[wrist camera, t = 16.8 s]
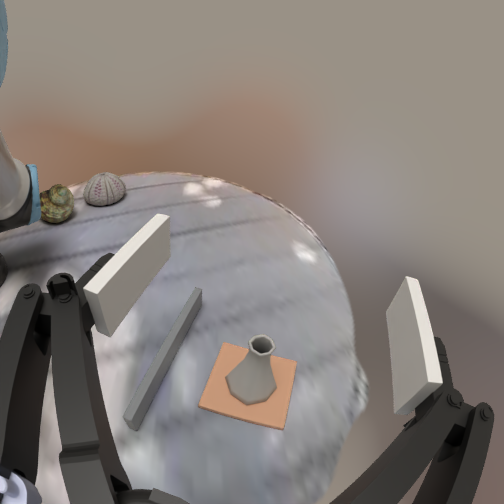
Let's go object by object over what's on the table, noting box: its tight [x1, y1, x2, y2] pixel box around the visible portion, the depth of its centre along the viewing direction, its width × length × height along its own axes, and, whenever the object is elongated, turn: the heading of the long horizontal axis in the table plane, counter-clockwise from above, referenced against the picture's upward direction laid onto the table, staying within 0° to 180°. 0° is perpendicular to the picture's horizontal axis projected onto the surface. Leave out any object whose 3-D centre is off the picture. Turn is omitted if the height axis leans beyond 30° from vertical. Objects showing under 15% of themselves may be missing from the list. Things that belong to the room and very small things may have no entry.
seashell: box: [39, 184, 74, 223], centre depth 66 cm, size 11×11×10 cm
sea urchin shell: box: [83, 172, 126, 206], centre depth 78 cm, size 13×14×8 cm
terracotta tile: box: [198, 342, 297, 430], centre depth 40 cm, size 12×12×1 cm
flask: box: [225, 334, 277, 405], centre depth 37 cm, size 7×7×10 cm
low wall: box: [123, 287, 202, 431], centre depth 41 cm, size 26×1×4 cm, turn 165°
